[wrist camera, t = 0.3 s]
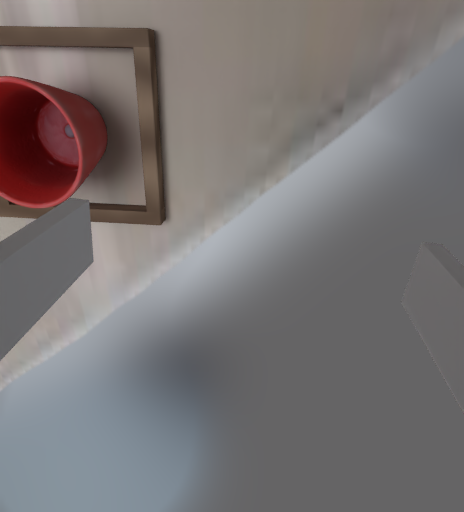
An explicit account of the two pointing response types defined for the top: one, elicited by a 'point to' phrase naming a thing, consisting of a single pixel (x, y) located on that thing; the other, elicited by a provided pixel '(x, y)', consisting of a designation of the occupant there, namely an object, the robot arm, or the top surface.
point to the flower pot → (46, 142)
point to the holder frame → (147, 109)
